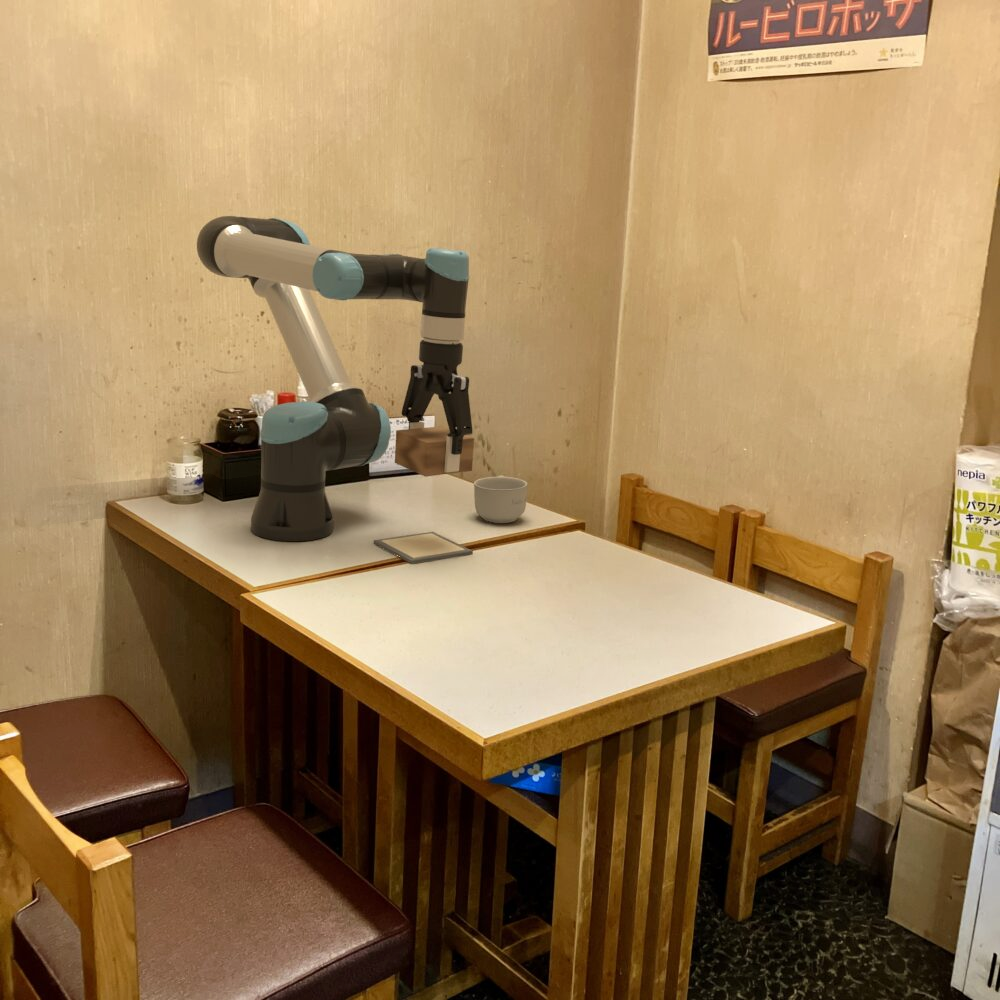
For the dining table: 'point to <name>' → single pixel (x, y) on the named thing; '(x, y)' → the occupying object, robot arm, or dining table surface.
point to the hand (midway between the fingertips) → (432, 464)
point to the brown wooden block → (429, 450)
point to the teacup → (500, 498)
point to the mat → (422, 547)
